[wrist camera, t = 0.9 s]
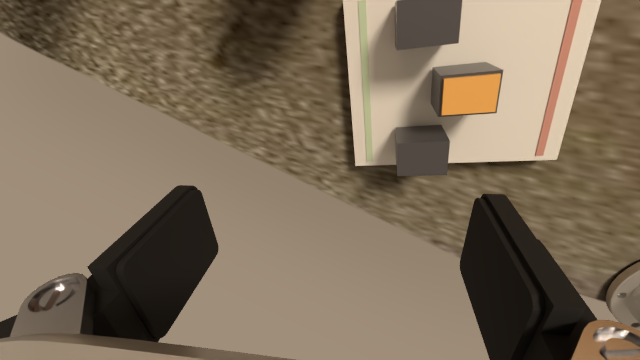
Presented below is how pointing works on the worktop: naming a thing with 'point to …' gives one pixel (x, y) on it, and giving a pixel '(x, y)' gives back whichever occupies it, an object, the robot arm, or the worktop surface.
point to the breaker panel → (454, 49)
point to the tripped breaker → (466, 89)
